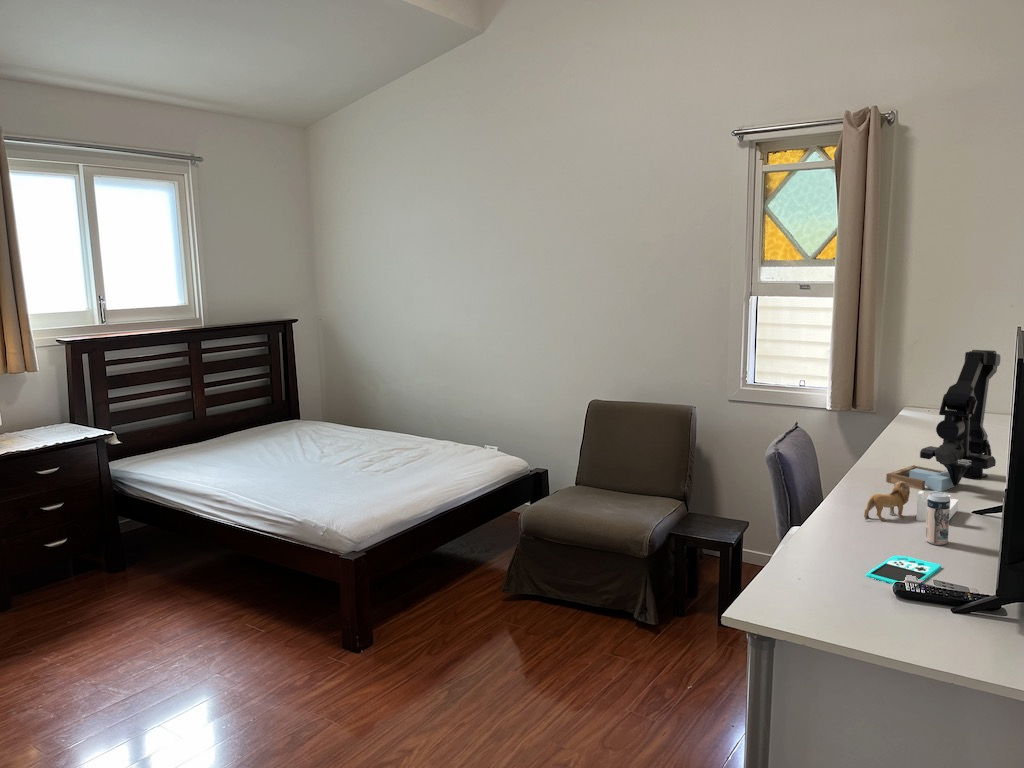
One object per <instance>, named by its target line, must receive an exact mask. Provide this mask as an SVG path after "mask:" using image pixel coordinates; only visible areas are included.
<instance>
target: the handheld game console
mask: <svg viewBox="0 0 1024 768" xmlns="http://www.w3.org/2000/svg"><path fill="white" fill-rule="evenodd" d="M940 569H942V565H941V564H939V563H935V562H930V561H928V560H927V561H926V560H922V559H919V558H916V557H915V558H914V557H911V556H905V555H893V556H890V557H889V558H887V559H886V560H885V561H883V562H881V563H880V564H879V565H877V566H876V567H874V568H872V569H871V570H869V571H868V572H867V573H865V577H866V578H867V577H869V578H868V579H871V578H874V579H873V580H875V579H876V580H875V581H878V580H879V581H878V582H882V581H883V582H882V583H885V582H886V583H888V584H889V585H892V584H893V583H895V582H899V581H904V580H905V577H906V575H912V576H916V577H917V578H918V579H920V580H924V579H926V578H928V577H929V578H931V577H932V576H933V575H935V573H936V572H938V571H940ZM929 578H928V579H929ZM926 580H927V579H926Z"/></svg>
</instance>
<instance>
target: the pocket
mask: <svg viewBox="0 0 1024 768" xmlns="http://www.w3.org/2000/svg"><path fill="white" fill-rule="evenodd" d="M916 468H918V469H923V470H928V471H933V472H938V473H941V472H943V470H940V469H936V468H929V467H925V466H924V467H923V466H919V465H911V466H908V467H904V468H901V469H898V470H895V471H891V472H889V473H886V478H885V482H886V483H890V484H893V485H894V484H895V483H898V482H899V481H902V482H906V483H907V484H908V486H909V487H910V489H911V488H913V489H916V490H919V491H924V490H925V489H926V485H925V481H924V480H919V479H915V478H910V477H909V473H910V470H913V469H916Z"/></svg>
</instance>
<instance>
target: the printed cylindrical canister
mask: <svg viewBox="0 0 1024 768" xmlns="http://www.w3.org/2000/svg"><path fill="white" fill-rule="evenodd" d="M948 495H949V494H947V493H944V492H940V491H933V492H930V493H929V494H928V495H927V497H926V498H928V500H927V522H926V525H925V526H926V527H925V541H926V542H927V543H929V544H931V545H934V546H944V545H947V544H948V543H949V530H950V529H949V528H950V527H949V526H950V525H949V524H950V523H949V522H950V520H949V509H950V499H951V497H950V498H949V497H948Z"/></svg>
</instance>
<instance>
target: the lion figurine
mask: <svg viewBox="0 0 1024 768" xmlns="http://www.w3.org/2000/svg"><path fill="white" fill-rule="evenodd" d="M910 489H911V487H909V486H908V484H907V483H906V482H902V481H899V482H898V483H895V484H893V488H892V491H891V492H890V493H888V494H883V493H874V494H872V495H871V496H870V497H869V500H868V502H867V505H866V508H865V509H864V514H863V518H864V520H867V521H868V519H870V516H869V513H870V511H871V510H872V509H873V508H874V507H875V509H876V516H877V517H878V519H879V520H880V521H884V522H885V521H886V518H885V517H882V512H883V509H884V508H889V515H891V516H894V515H896V513H895V507H897V511H898V512H897V516H898V517H899V518H902V519H903V518H904V515H903V510H904V505H905V504H907V503H908V502H909V499H910V493H911V490H910Z"/></svg>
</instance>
